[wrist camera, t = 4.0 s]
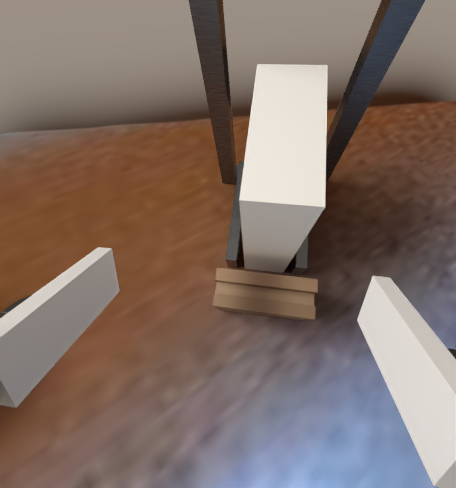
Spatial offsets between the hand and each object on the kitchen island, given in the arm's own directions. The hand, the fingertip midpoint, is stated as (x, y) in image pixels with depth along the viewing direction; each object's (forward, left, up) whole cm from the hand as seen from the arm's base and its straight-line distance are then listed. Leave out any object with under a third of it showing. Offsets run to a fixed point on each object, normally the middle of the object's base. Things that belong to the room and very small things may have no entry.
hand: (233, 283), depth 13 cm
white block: (-2, -8, -13) cm, 15 cm away
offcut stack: (-2, -1, -13) cm, 13 cm away
